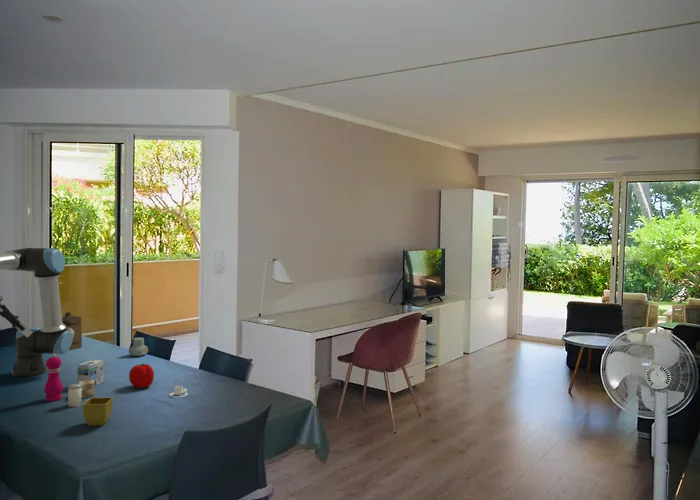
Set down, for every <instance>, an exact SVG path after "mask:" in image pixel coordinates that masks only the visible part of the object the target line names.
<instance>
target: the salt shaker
mask: <svg viewBox="0 0 700 500" xmlns="http://www.w3.org/2000/svg"><path fill="white" fill-rule="evenodd" d="M81 387H82V384H79V383H78V382H77V383H76V382H75V383H70V384H68V385H67V389H68V390H67V396H68V398H67V399H68V400H67V402H68V407H69V408H70V407H71V408H76V407H80V406H81V405H82V398H81Z"/></svg>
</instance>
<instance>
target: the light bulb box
mask: <svg viewBox="0 0 700 500" xmlns="http://www.w3.org/2000/svg"><path fill="white" fill-rule="evenodd" d="M104 365H105V363H104V360H100V359H99V360H98V359H90V360H88V361H85V362H81V363H79V364H77V383H79V381H88V380H94V383H95V387H96V386H99V385H101V384H102V383H103V384H104V372H105V371H104Z"/></svg>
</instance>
